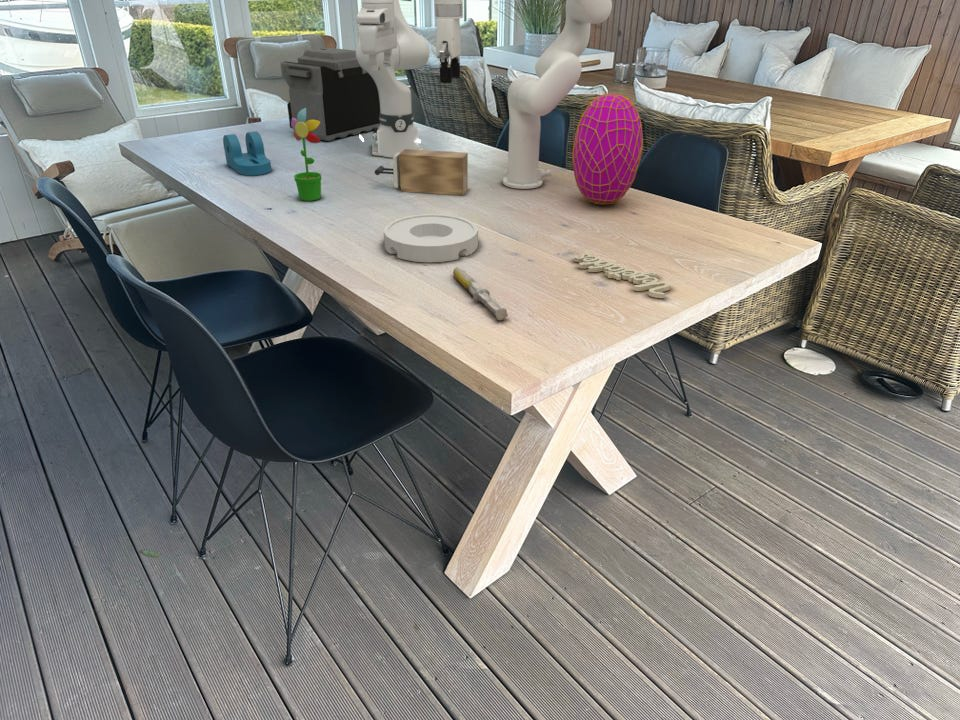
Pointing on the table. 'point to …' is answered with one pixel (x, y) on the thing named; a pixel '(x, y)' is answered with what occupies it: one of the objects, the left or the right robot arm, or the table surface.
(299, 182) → the potted flower
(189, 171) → the table surface
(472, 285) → the syringe
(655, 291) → the decorative sign
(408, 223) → the ashtray
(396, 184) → the drawer
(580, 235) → the table surface
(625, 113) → the decorative egg
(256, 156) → the camera mount
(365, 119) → the electronic device
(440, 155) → the tan elongated box
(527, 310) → the table surface
